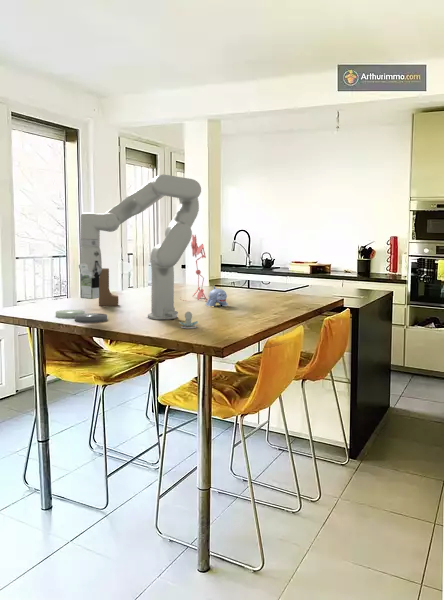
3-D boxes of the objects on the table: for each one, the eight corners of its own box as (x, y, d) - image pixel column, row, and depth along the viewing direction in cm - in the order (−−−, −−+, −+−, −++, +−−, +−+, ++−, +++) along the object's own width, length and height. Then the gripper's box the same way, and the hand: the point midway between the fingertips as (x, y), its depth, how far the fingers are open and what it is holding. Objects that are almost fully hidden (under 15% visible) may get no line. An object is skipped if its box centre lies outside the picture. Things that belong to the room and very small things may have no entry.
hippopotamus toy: (212, 309, 256) (212, 289, 255) (203, 304, 270) (203, 285, 269) (233, 308, 259) (233, 289, 258) (223, 304, 274) (223, 285, 272)
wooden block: (118, 304, 262) (118, 268, 260) (117, 306, 258) (117, 269, 255) (99, 304, 261) (99, 268, 259) (98, 305, 257) (98, 268, 254)
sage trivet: (89, 316, 228) (89, 312, 228) (64, 319, 220) (63, 315, 219) (76, 313, 237) (76, 308, 236) (50, 315, 228) (50, 311, 228)
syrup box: (99, 297, 220) (99, 262, 218) (92, 299, 214) (92, 263, 213) (87, 296, 222) (87, 262, 220) (79, 298, 216) (79, 262, 214)
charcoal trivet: (113, 320, 220) (113, 315, 220) (87, 323, 210) (86, 318, 210) (95, 316, 229) (94, 312, 228) (68, 320, 219) (68, 315, 219)
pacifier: (198, 329, 205) (196, 326, 211) (198, 313, 204) (197, 310, 210) (179, 329, 204) (178, 326, 210) (179, 313, 203) (178, 310, 209)
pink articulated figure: (202, 295, 303) (202, 233, 298) (211, 302, 278) (210, 235, 273) (175, 296, 300) (174, 234, 295) (182, 303, 275) (181, 235, 270)
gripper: (109, 244, 212) (109, 288, 214) (87, 242, 224) (87, 284, 226) (93, 244, 206) (92, 289, 209) (71, 242, 219) (71, 285, 221)
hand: (89, 286), depth 217 cm, fingers closed on syrup box, 7 cm apart
